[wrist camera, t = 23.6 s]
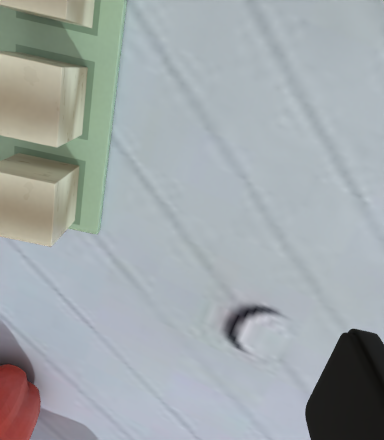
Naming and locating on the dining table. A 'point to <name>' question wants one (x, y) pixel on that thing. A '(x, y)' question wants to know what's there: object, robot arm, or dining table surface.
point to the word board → (94, 99)
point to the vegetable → (17, 404)
